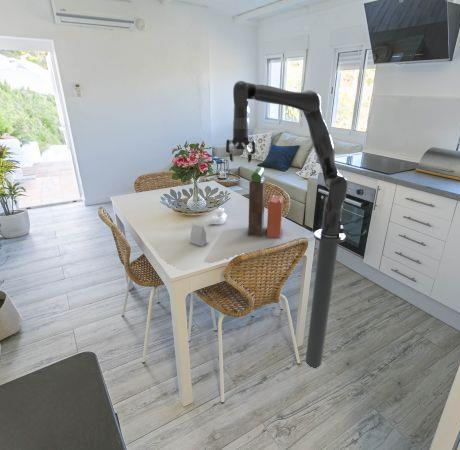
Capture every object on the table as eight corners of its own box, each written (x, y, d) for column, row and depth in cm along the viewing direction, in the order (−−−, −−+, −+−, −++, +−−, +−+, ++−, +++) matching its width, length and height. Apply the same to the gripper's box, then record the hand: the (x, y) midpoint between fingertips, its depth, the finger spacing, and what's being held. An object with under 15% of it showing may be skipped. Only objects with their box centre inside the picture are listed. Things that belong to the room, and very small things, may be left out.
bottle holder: (280, 230, 179) (283, 195, 171) (279, 238, 168) (282, 201, 160) (268, 229, 180) (270, 194, 172) (266, 237, 169) (268, 200, 161)
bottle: (265, 173, 177) (265, 165, 175) (260, 182, 157) (260, 172, 156) (257, 173, 177) (257, 165, 176) (251, 181, 158) (251, 172, 156)
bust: (211, 230, 182) (219, 219, 174) (204, 220, 184) (211, 208, 176) (226, 224, 190) (234, 213, 182) (220, 214, 192) (227, 203, 184)
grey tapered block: (201, 246, 157) (200, 228, 153) (191, 243, 161) (190, 225, 157) (206, 243, 160) (205, 225, 156) (196, 240, 163) (195, 222, 159)
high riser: (263, 228, 180) (265, 176, 168) (261, 237, 169) (263, 181, 157) (251, 227, 181) (252, 175, 169) (248, 236, 170) (249, 180, 158)
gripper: (224, 127, 146) (224, 162, 152) (254, 128, 144) (253, 163, 150) (227, 126, 153) (228, 159, 159) (256, 127, 151) (255, 161, 157)
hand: (240, 161), depth 155 cm, fingers open, 8 cm apart
